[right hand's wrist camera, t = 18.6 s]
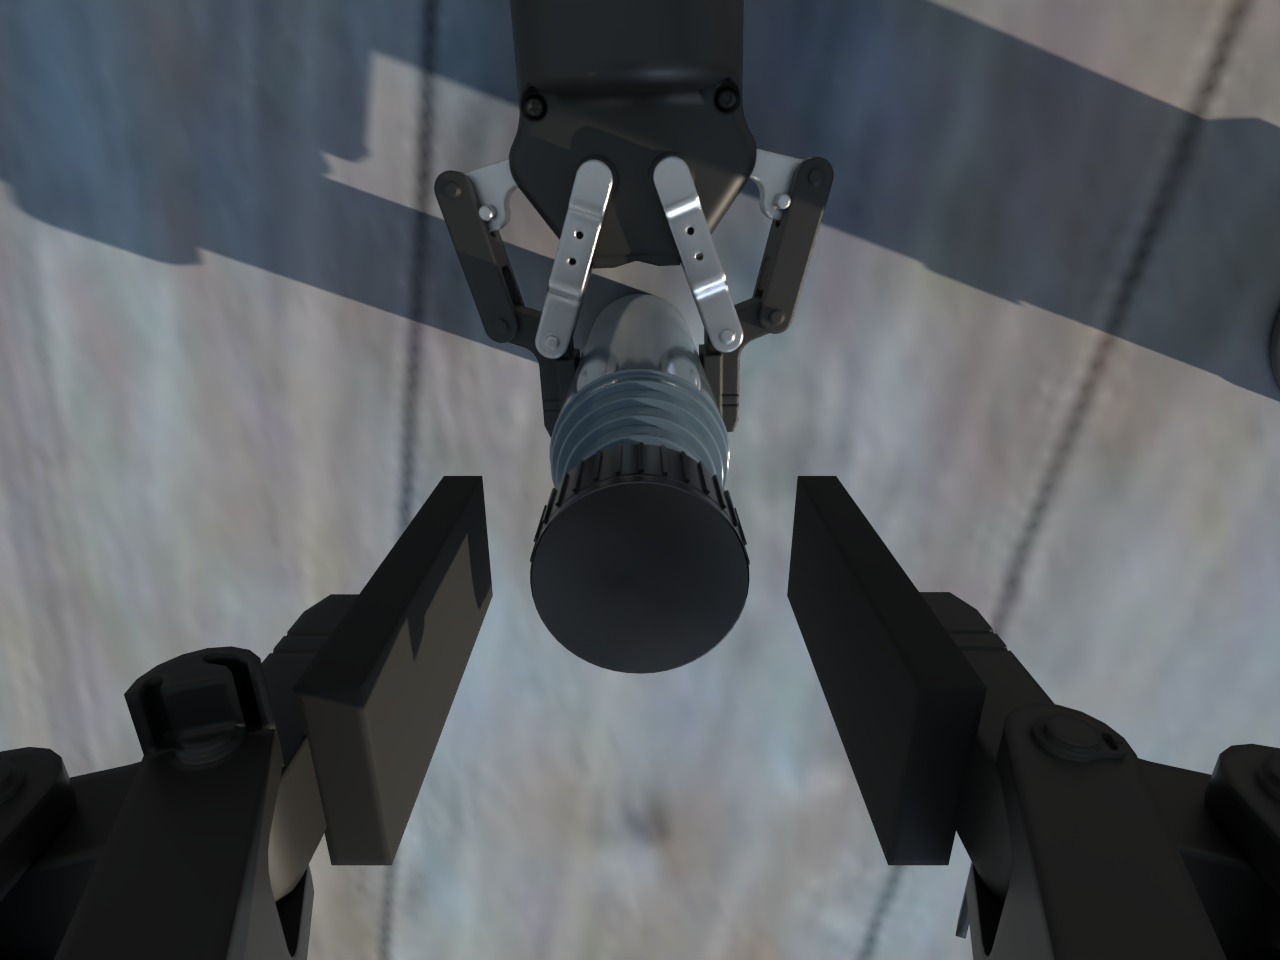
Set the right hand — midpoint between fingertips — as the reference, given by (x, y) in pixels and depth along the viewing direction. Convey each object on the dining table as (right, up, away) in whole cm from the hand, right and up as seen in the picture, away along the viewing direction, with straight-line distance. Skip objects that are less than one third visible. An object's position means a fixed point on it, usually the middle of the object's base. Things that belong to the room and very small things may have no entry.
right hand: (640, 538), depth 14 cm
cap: (0, -1, -1) cm, 1 cm away
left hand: (0, +3, +14) cm, 14 cm away
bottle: (0, +8, +19) cm, 21 cm away
